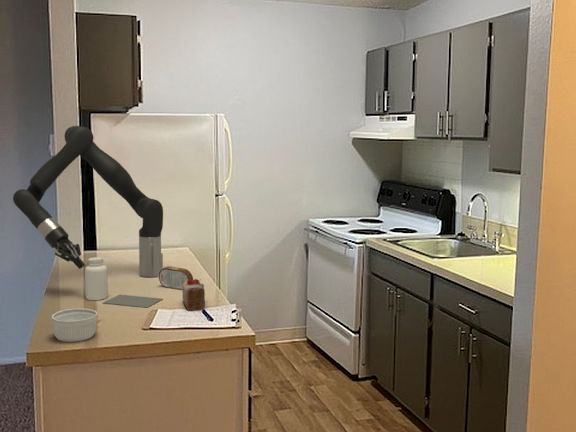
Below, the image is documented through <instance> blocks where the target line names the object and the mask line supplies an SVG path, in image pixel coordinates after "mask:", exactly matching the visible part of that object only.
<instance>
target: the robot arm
mask: <svg viewBox="0 0 576 432" xmlns="http://www.w3.org/2000/svg"><path fill="white" fill-rule="evenodd" d="M94 138H95V137H94V134H93V132H92V131H91V129H90V128H88V127H86V126H82V125H81V126H80V125H73V126H70V127H68V128H67V129H66V130H65V132H64V141H65V144H64V146H63V147H61V149H60V151H58V152H57V153H56V154H55V155H54V156H53V157H52V158H50V159H49V160H48V161H46V162H45V163H44V164H43V165H42V166H41V167H40V168H39V169H38V170H37V171H36V173H35V174H33V175H32V177H31V178H30V180H29V186H28V187H27V189H25V188H24V189H23V188H22V189H18V190H16V191H15V192H14V194H13V195H12V201H13V203H14V204H15V206H16V207H17V208H18V209H19V210H20V211H21V212H22V213H23V214H24V216H26V217H27V218H28V220H29V221H30V223H31V224H32V225H33V226H34V227H35V228H36V230H37V231H38V233H39V234H40V235H41V237H42V238H43V239H44V240H45V242H46V243H47V244H48V246H50V247H51V248H52V249H55V250H56V251H55V253H54V255H55V256H57V257H58V258H60V259H62V260H64V261H66V262H71V263H73V264H74V265H75V266H76V267H77V268H78V270H79V269H83V268H84V267H85V266H86V265H85V262H83V260H82V259H81V258H80V256H82V253H81V252H82V251H81V247H80V244H79V243H76V244H74V243H73V242H72V241H71V240H70V239H69V234H68V233H67V231H66V230H65V229H64V228H63V227H62V226H61V224H60V223H59V222H58V221H57V220H56V219H55V218H53V216H52V215H51V213H49V212H48V210H46V209H45V208H44V207H43V206H42V205H41V203H40V202H41V200H42V198H43V196H44V195H45V193H46V192H47V190H48V189H49V188H50V187H51V186H52V185H53V184H54V183H55V181H56V180H57V179H58V177H59V176H61V174H62V173H63V172H64V171H65V170H66V169H67V168H68V167H69V166H70V165H71V163H73V162H74V161H75V160H76V159H77V158H78V157H79V156H81V157H82V158H83V159H84V160H85V161H86V162H87V163H88V164H89V165H90V166H91V168H92V169H93V170H94V171H95V172H96V173H97V174H98V175H99V176H100V178H101V179H102V180H103V181H104V182H105V183H106V184H107V185H108V187H110V188H111V189H112V190H114V191H115V192H116V193H117V194H118V195H119V196H121V198H122V199H123V200H125V201H126V202H127V204H128V205H129V206H130V208H131V209H132V210H133V211H134V212H135V214H136V215H138V216H139V218H141V219H142V227H140V228H139V230H138V255H139V257H138V258H139V259H138V260H139V261H138V262H139V263H138V264H139V277H141V278H142V277H143V278H156V277H159V272H160V271H161V270H162V269H163V268H164V265H163V264H164V260H163V259H164V257H163V256H164V255H163V253H162V231H163V228H164V208H163V205H162V202H160V200H157V199H154V198H150V197H148V195H145V193H143V192H142V191H141V190H140V189H139V188H138V187H137V186H136V183H135V182H134V180H133V178H132V176H131V174H130V173H129V172H128V171H127V169H125V167H124V166H123V165H122V164H121V163H119V162H118V160H116V158H114V157H112V156H111V155H110V154H108V153H107V152H106V151H104V150H102V149H101V148H100V147H99V146H98V145H97V144H96V143H95V142H94Z"/></svg>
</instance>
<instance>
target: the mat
mask: <svg viewBox="0 0 576 432" xmlns="http://www.w3.org/2000/svg"><path fill="white" fill-rule="evenodd" d="M162 301H163V298H161V297H150V296H148V297H147V296H141V295H140V296H139V295H130V294H129V295H127V294H117V295H116V296H113V297H111V298H109V299H108V300H104V301H103V302H102V304H104V305H113V306H115V305H116V306H122V307H123V306H125V307H131V308H132V307H133V308H134V307H135V308H144V309H149V308H150V307H152V306H154V305H156V304H158V303H159V302H162Z"/></svg>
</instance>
